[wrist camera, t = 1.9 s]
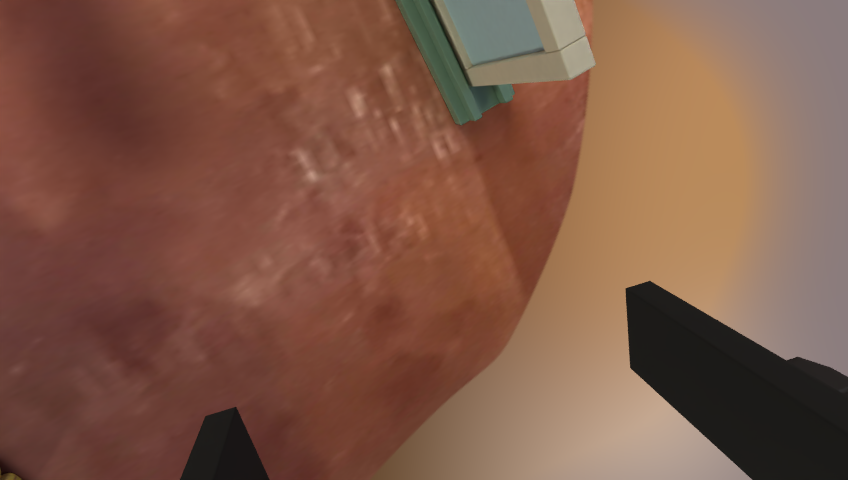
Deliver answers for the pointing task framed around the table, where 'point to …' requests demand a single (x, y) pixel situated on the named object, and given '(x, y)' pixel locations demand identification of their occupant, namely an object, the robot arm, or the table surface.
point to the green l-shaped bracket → (449, 65)
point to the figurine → (9, 476)
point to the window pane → (515, 40)
